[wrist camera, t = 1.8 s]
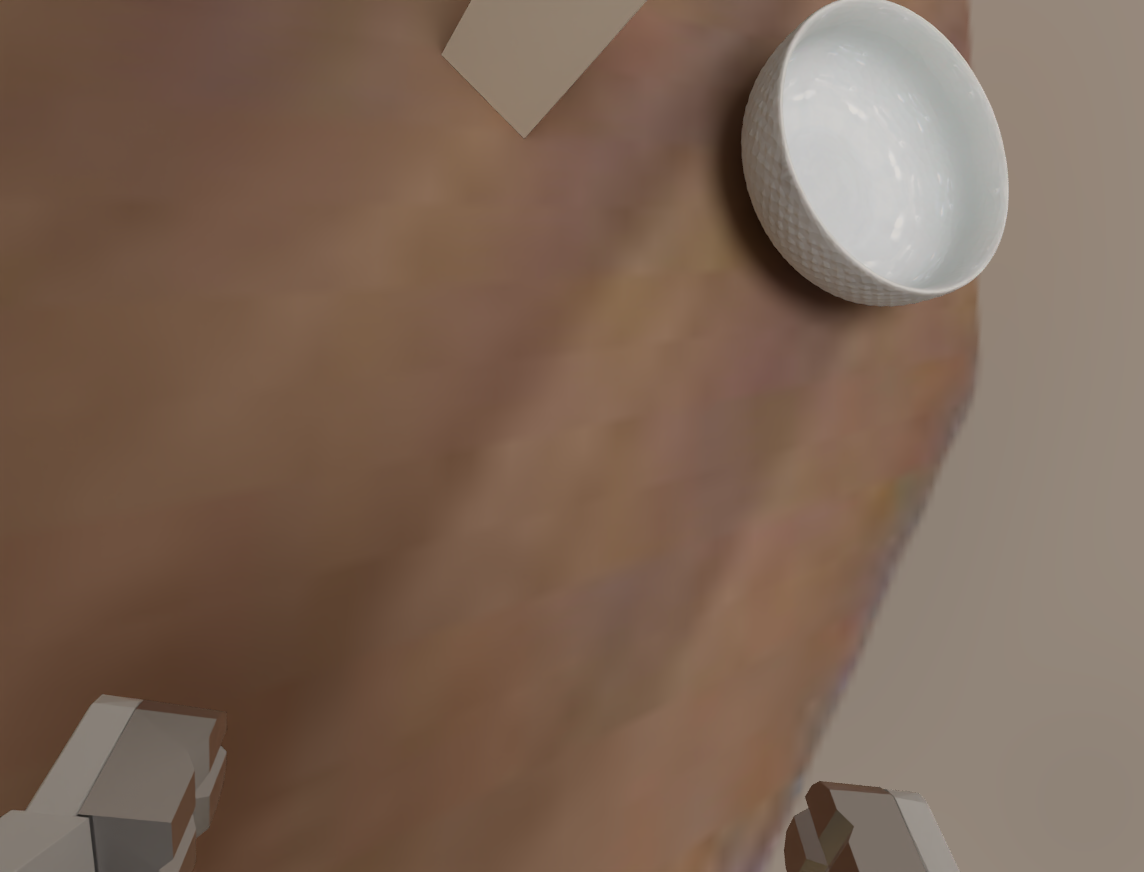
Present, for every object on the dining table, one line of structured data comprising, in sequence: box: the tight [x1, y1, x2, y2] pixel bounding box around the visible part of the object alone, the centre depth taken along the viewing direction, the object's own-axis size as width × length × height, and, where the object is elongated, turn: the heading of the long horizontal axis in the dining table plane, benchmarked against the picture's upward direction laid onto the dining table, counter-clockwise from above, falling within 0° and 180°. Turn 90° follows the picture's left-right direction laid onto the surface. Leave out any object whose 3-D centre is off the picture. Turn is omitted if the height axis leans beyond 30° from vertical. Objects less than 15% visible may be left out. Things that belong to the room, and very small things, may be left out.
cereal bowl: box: [741, 0, 1009, 307], centre depth 46 cm, size 17×17×7 cm
